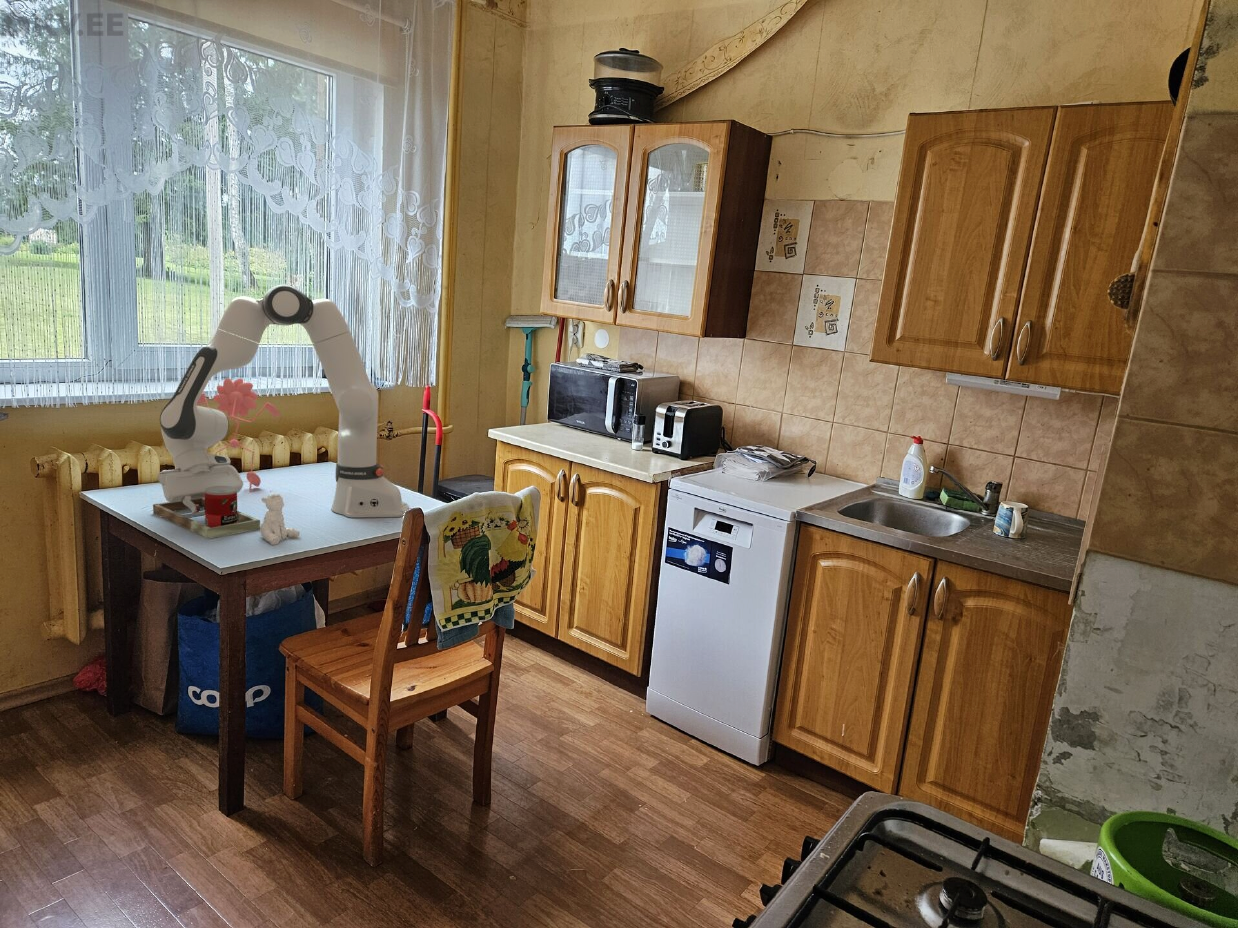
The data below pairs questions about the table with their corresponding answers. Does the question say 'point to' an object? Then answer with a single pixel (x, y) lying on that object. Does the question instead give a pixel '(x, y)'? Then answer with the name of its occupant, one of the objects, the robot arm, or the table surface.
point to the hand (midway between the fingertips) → (213, 509)
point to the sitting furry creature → (275, 521)
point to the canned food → (220, 506)
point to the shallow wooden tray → (174, 516)
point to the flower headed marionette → (238, 411)
